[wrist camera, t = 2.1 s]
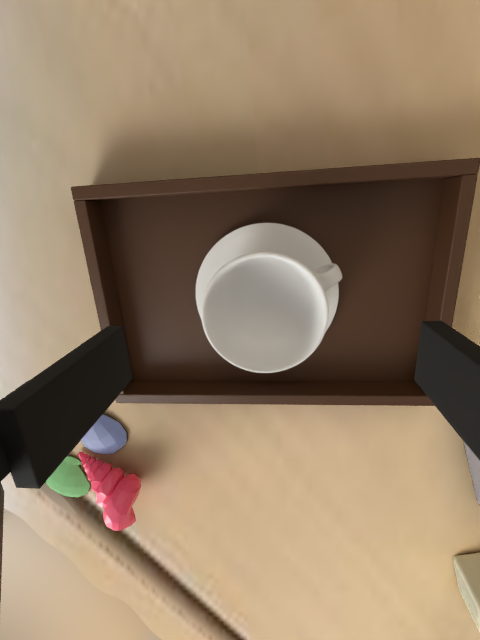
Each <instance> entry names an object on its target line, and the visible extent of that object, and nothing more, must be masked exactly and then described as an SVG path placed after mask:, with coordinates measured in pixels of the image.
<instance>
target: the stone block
mask: <svg viewBox="0 0 480 640" xmlns="http://www.w3.org/2000/svg"><path fill="white" fill-rule="evenodd" d="M463 442H464V441H463ZM464 446H465V451H466V454H467V459H468V464H469V468H470V472H471V476H472V479H473V485H474V490H475V494H476V498H477V500H478V503H479V505H480V461H479V459H478V458H477V457H476V456H475V454H474V453H473V452H472V451H471V449H470V448H469V447H468V446H467V444H466V443H465V442H464Z"/></svg>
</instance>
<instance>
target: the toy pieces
mask: <svg viewBox="0 0 480 640" xmlns="http://www.w3.org/2000/svg"><path fill="white" fill-rule="evenodd" d="M81 440H82V443H83V445H84V446H85V447H87V448H88V449H89V450H91V451H92V452H95V453H100V454H113V453H115V452H116V451H118V450H120V449H121V448H122V447H123V446H124V445H125V444H126V442H127V433H126V432H125V430H124V429H123V427H122V426H121V424H120V423H119V422H117V421H116V420H114V419H112V418H110V417H108V416H106V415H103V414H102V415H101V417H100V418H99V419H98V420H97V421H96V423H95V424H94V425H93V426H92V427H91V428H90V430H89V431H88V432H87V433H86V434H85V436H84V437H83V438H82V439H81ZM78 455H79V457H80V459H81V461H80V460H79V459H77V458H75V457H72V456H69V455H68V456H67V457H66V458H65V459H64V460H63V462H62V463H61V464H60V465H59V466H58V467H57V469H56V470H55V471H54V472H53V473H52V475H51V476H50V477H49V478H48V479H47V480H46V484H47V485H48V486H49V487H50V488H51V489H53V490H54V491H56V492H57V493H59V494H61V495H65V496H69V497H80V496H83V495H85V494H87V493H88V490H89V488H90V485H91V488H92V490H93V491H94V492H97V493H96V497H97V504H98V505H99V506H101V507H103V508H104V513H103V517H104V521H105V524H106V526H107V527H109V528H110V529H112V530H114V531H119V530H123V529H125V528H127V527H129V526H131V525H132V524H133V523H134V522H135V521H136V519H135V514H134V511H133V508H132V505H133V503H134V501H135V500H136V498H137V496H138V493H139V490H140V487H141V480H140V479H139V478H138V477H137V475H136V474H128V475H125V476H124V472H123V470H122V469H121V468H119V467H117V468H113V469H112V466H111V464H110V463H103V462H102V460H100V459H99V460H98V461H97V459H96V458H95V457H92V458H91V456H90V455H87V454H85V453H83V452H79V454H78ZM80 464H82V465H83V466H84V467H85V468H84V471H85V472H86V473H87V477H88V479H87V477H86V475H85V474H84V472H83V471H82V469H81V468H80V466H79V465H80ZM88 480H89V481H91V484H90V482H89V481H88Z"/></svg>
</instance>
